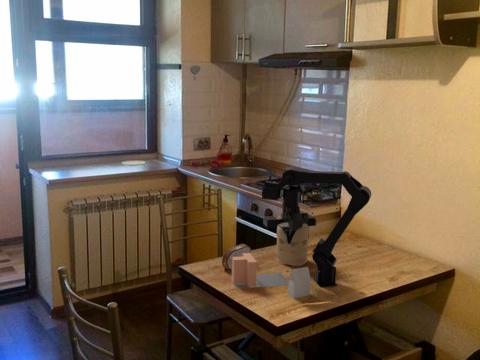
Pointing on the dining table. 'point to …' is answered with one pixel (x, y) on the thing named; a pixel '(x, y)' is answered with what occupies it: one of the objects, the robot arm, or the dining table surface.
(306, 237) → the container
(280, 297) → the dining table surface
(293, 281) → the grey upright block
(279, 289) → the dining table surface
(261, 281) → the board
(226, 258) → the tin
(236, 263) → the t block
